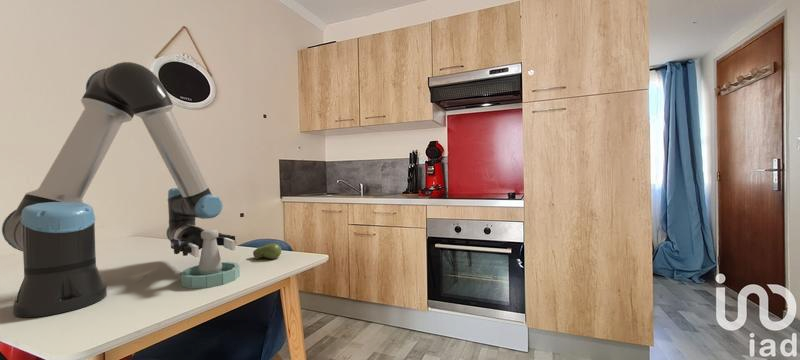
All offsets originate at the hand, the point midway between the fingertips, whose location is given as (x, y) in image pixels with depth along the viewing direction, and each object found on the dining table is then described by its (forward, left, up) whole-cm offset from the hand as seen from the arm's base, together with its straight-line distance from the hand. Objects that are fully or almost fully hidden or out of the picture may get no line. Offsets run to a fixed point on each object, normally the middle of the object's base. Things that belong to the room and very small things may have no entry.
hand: (216, 248), depth 89 cm
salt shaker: (-3, +4, -9) cm, 10 cm away
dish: (-3, +4, -9) cm, 11 cm away
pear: (+7, +25, -10) cm, 28 cm away
